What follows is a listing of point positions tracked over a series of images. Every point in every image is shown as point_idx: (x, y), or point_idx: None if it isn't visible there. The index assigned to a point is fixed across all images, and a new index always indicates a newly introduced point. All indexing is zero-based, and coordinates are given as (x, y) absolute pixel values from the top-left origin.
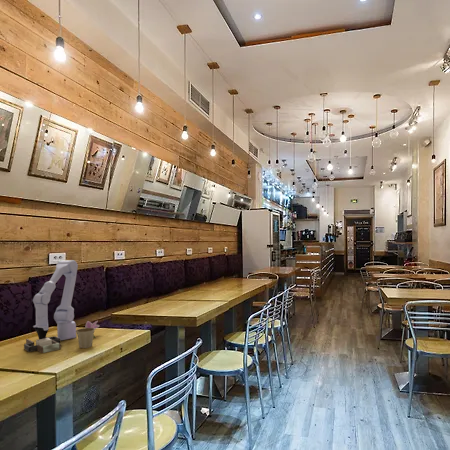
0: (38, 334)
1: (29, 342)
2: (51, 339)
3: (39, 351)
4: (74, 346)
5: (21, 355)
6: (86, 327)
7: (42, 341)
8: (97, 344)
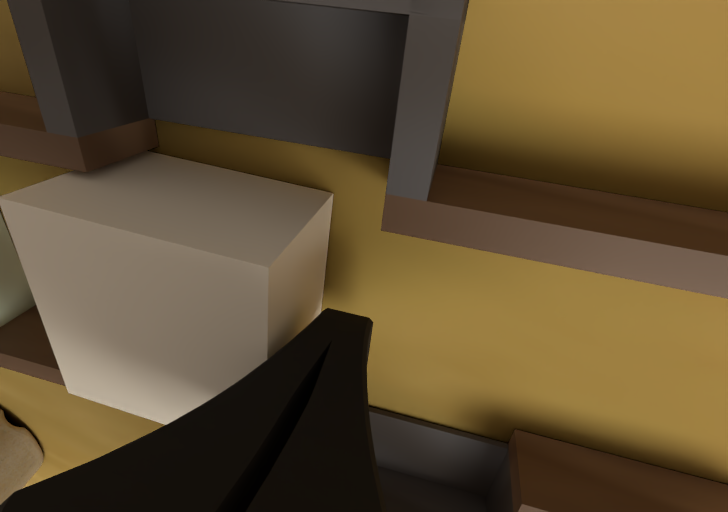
0: (250, 440)
1: (678, 231)
2: (494, 506)
3: (6, 94)
4: (60, 413)
5: None
6: None
7: (21, 260)
8: (27, 486)
